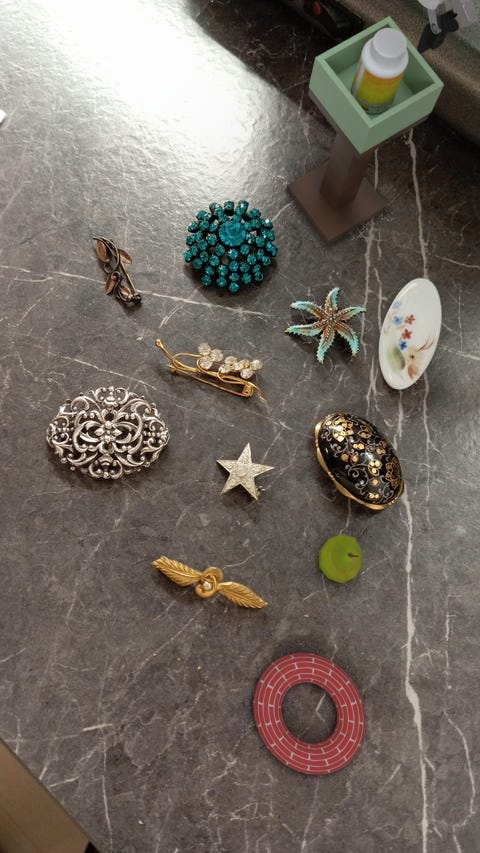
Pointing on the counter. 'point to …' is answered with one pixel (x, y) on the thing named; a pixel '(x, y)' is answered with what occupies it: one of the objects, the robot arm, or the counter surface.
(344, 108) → the bin
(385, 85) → the supplement bottle
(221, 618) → the counter surface
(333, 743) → the torus
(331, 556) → the fruit
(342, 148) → the stand
